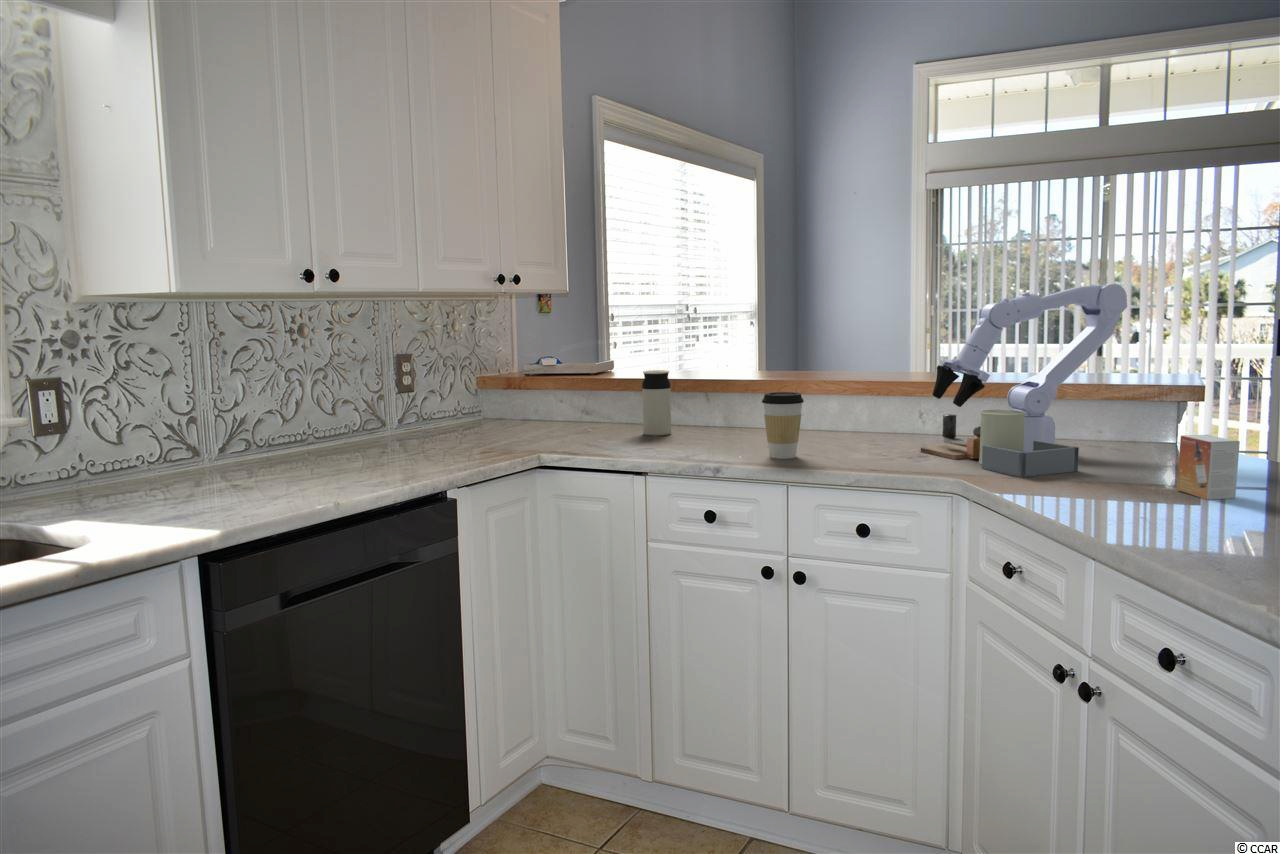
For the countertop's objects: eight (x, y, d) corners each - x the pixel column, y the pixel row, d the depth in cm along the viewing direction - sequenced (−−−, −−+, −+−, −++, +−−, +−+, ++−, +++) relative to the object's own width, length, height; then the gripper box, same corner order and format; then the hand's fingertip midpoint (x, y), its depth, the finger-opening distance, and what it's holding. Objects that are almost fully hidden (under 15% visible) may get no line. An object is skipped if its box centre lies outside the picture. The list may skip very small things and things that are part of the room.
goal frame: (1036, 462, 197) (1037, 440, 197) (1077, 470, 187) (1078, 447, 186) (981, 468, 192) (982, 445, 191) (1021, 477, 181) (1022, 453, 181)
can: (1027, 467, 191) (1029, 412, 190) (982, 467, 193) (984, 412, 192) (1018, 460, 200) (1020, 407, 199) (975, 460, 202) (977, 407, 201)
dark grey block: (953, 449, 215) (953, 413, 214) (991, 457, 203) (992, 419, 202) (936, 450, 213) (936, 415, 212) (973, 458, 201) (974, 421, 200)
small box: (1175, 491, 166) (1179, 434, 164) (1204, 489, 166) (1208, 433, 165) (1206, 500, 158) (1210, 441, 156) (1236, 498, 158) (1240, 440, 157)
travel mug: (671, 435, 251) (670, 371, 248) (643, 436, 251) (641, 372, 248) (671, 431, 259) (669, 369, 256) (643, 432, 259) (642, 370, 256)
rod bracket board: (954, 448, 218) (954, 444, 218) (989, 455, 207) (989, 451, 207) (920, 451, 215) (920, 447, 214) (954, 459, 203) (954, 455, 203)
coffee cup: (808, 454, 215) (808, 392, 213) (797, 461, 206) (797, 396, 204) (768, 452, 219) (768, 391, 217) (756, 458, 210) (756, 395, 208)
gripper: (944, 336, 212) (915, 386, 213) (986, 348, 199) (954, 401, 200) (964, 349, 215) (935, 398, 216) (1006, 362, 202) (975, 414, 203)
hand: (945, 401), depth 208 cm, fingers open, 7 cm apart
